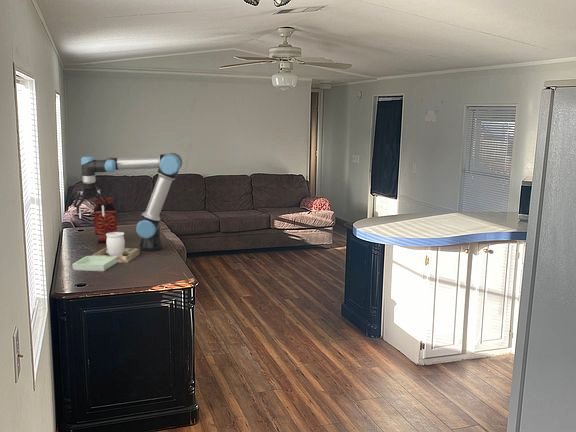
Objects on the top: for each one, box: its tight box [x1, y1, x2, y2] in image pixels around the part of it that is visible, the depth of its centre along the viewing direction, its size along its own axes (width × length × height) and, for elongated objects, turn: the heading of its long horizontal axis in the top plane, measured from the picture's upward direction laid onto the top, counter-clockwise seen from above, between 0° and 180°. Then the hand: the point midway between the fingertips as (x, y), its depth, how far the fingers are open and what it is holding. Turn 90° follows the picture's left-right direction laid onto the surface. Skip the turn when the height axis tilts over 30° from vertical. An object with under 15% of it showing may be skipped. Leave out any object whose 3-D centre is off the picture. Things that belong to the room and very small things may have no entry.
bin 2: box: [90, 246, 141, 264], centre depth 345 cm, size 22×20×4 cm
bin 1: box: [72, 255, 118, 272], centre depth 326 cm, size 18×18×4 cm
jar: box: [106, 231, 126, 256], centre depth 344 cm, size 11×10×15 cm
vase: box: [93, 196, 118, 246], centre depth 380 cm, size 14×14×30 cm
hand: (91, 217), depth 348 cm, fingers open, 13 cm apart
